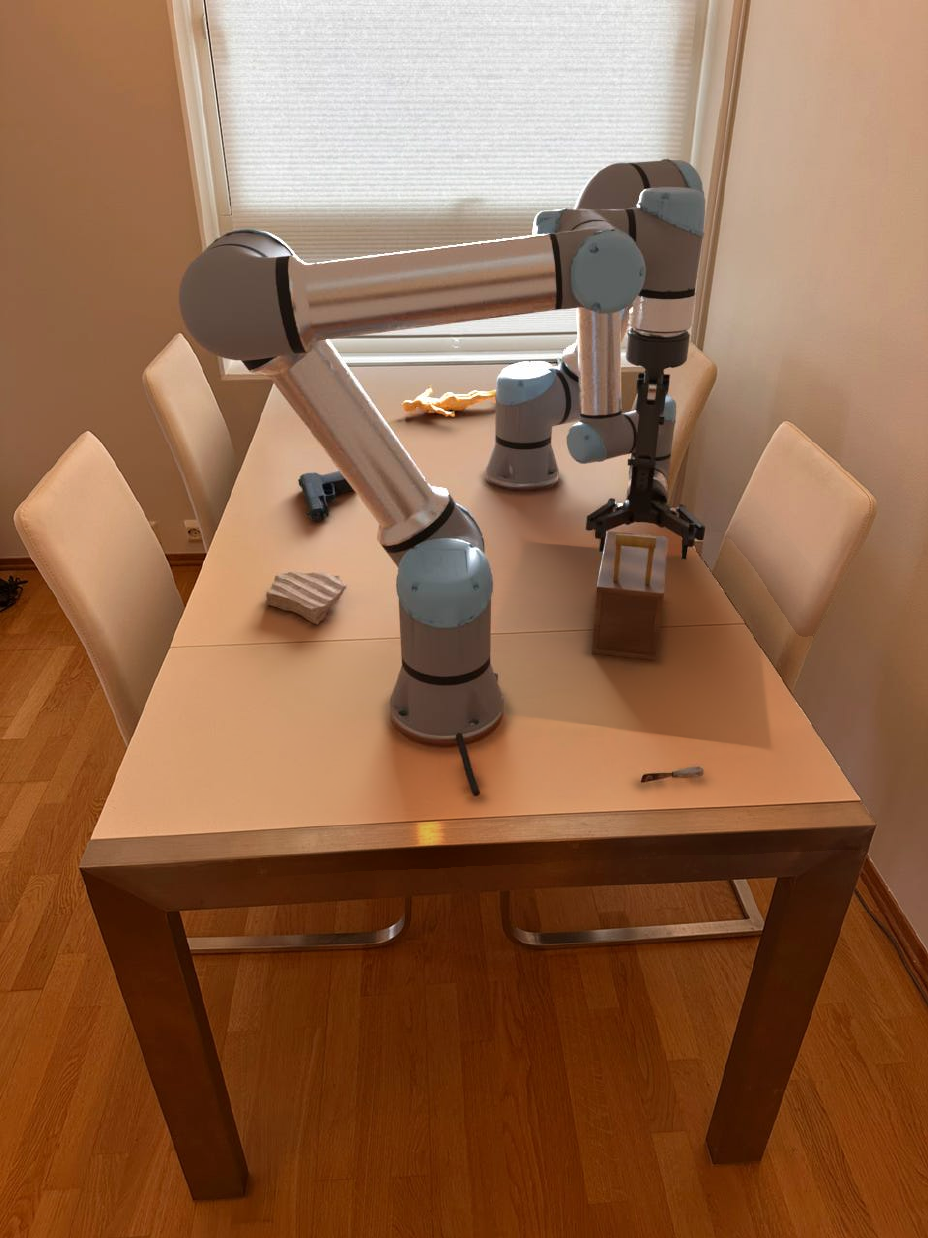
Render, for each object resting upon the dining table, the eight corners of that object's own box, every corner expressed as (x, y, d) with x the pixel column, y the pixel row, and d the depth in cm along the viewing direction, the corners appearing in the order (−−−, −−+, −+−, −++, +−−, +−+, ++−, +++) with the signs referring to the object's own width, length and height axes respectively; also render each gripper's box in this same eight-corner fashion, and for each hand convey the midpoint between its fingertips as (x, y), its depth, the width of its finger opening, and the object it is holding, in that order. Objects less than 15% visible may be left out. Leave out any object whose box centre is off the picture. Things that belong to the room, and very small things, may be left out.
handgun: (369, 516, 174) (308, 523, 171) (354, 480, 188) (297, 486, 185) (368, 501, 172) (306, 508, 169) (353, 466, 186) (295, 472, 183)
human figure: (395, 413, 223) (394, 398, 221) (438, 390, 237) (438, 375, 235) (462, 429, 215) (462, 413, 213) (502, 404, 229) (503, 388, 227)
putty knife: (703, 777, 109) (705, 767, 109) (642, 788, 108) (644, 777, 107) (700, 772, 110) (702, 762, 109) (639, 782, 109) (640, 771, 108)
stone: (356, 590, 149) (354, 577, 147) (319, 626, 139) (317, 612, 138) (289, 576, 153) (287, 563, 152) (249, 610, 144) (247, 596, 142)
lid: (663, 599, 125) (670, 546, 120) (596, 592, 126) (600, 540, 122) (666, 541, 140) (673, 493, 135) (606, 536, 141) (611, 488, 137)
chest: (655, 660, 131) (663, 597, 125) (591, 653, 133) (596, 590, 127) (659, 602, 145) (666, 542, 140) (601, 596, 147) (606, 536, 141)
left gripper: (633, 304, 119) (619, 454, 131) (620, 355, 99) (605, 528, 110) (691, 306, 118) (672, 458, 129) (690, 359, 97) (667, 534, 109)
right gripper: (713, 520, 166) (717, 575, 148) (578, 509, 170) (566, 561, 152) (719, 482, 162) (723, 534, 144) (581, 472, 166) (569, 521, 148)
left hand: (641, 490), depth 120 cm, fingers open, 13 cm apart
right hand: (643, 548), depth 148 cm, fingers open, 13 cm apart
